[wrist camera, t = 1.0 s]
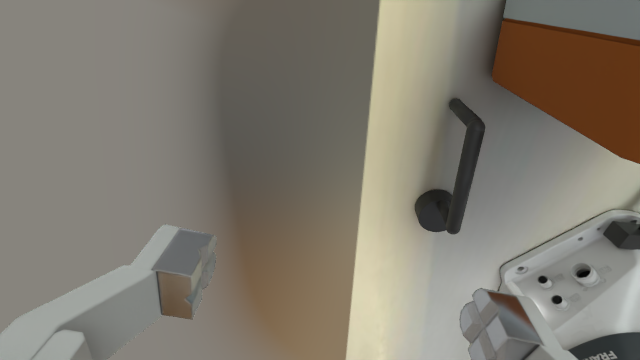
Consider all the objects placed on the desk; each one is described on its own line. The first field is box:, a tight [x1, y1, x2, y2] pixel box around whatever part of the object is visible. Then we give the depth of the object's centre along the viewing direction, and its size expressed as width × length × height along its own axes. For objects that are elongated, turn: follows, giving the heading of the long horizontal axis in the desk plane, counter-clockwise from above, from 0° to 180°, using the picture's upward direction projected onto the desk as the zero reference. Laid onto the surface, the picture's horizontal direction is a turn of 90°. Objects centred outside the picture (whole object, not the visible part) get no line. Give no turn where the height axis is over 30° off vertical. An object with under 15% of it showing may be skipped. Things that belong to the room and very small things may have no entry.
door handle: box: [415, 99, 485, 234], centre depth 33 cm, size 16×5×7 cm, turn 2°
